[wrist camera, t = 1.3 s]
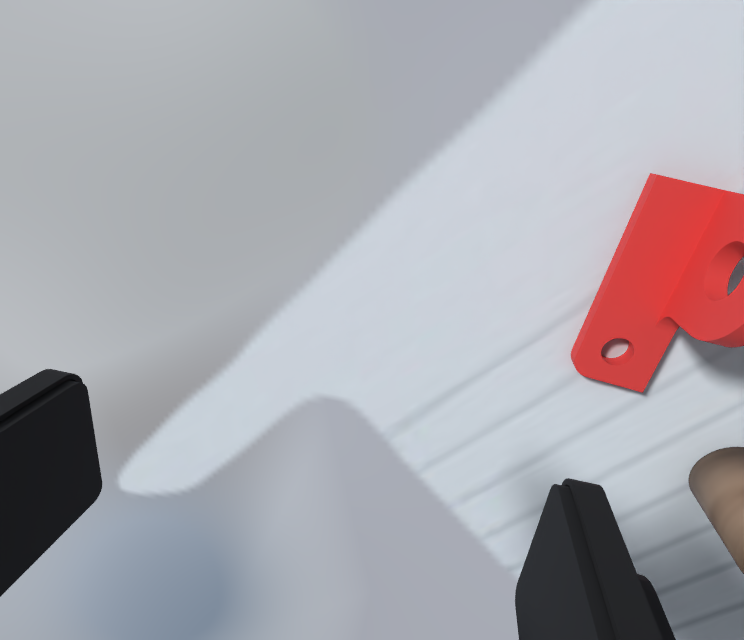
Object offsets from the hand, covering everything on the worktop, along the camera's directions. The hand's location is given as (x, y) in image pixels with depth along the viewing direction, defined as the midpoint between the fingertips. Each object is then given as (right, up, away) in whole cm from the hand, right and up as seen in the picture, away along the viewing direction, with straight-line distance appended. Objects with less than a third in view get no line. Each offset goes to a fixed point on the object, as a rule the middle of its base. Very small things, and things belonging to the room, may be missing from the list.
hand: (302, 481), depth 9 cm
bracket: (+17, +5, +18) cm, 25 cm away
